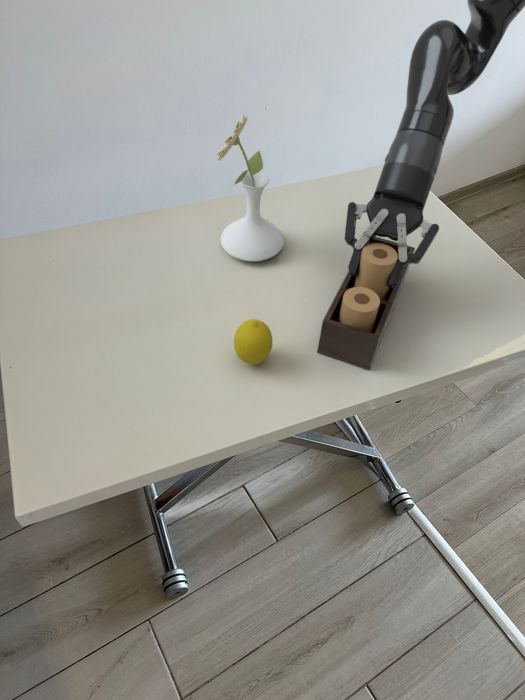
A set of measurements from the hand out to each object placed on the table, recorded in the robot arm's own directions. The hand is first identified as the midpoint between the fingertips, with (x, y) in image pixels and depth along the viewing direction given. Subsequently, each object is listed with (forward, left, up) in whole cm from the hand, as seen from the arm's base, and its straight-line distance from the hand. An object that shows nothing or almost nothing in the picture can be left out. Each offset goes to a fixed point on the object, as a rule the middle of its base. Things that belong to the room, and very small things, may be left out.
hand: (371, 280), depth 79 cm
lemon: (+19, -3, -8) cm, 21 cm away
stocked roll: (+5, +3, -8) cm, 10 cm away
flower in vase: (+4, -25, -8) cm, 27 cm away
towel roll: (-2, -1, -5) cm, 5 cm away
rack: (-2, -1, -8) cm, 9 cm away
